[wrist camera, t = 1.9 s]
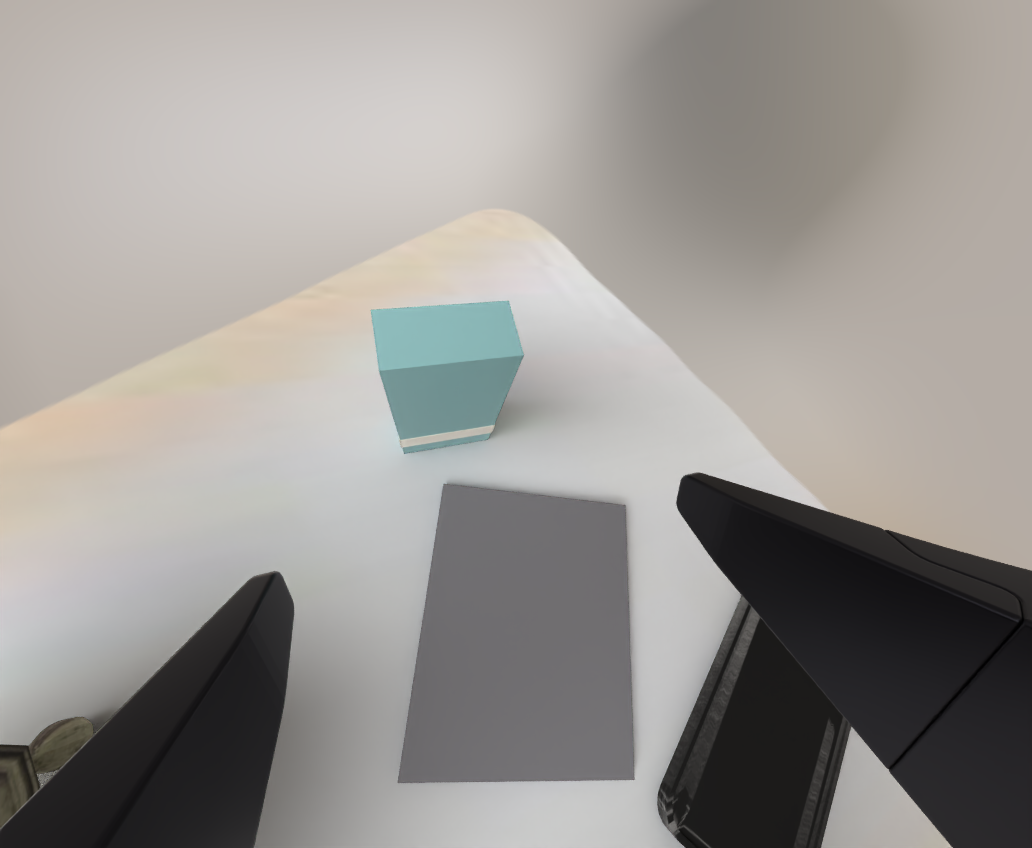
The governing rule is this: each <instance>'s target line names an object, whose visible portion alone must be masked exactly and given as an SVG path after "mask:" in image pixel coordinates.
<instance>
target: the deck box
mask: <svg viewBox="0 0 1032 848" xmlns="http://www.w3.org/2000/svg"><path fill="white" fill-rule="evenodd" d="M371 315H372V323H373V330H374V337H375V344H376V352H377V359H378V366H379V372H380V375H381V379H382V382H383V385H384V389H385V392H386V395H387V399H388V402H389V405H390V408H391V412H392V415H393V418H394V422H395V425H396V428H397V432H398V436H399V442H400V445H401V448H403V451H404V454H406V453H412V452H418V451H423V450H429V449H435V448H441V447H447V446H453V445H459V444H464V443H470V442H476V441H482V440H488V438H489V436H490V433H492V432H493V430H494V427H495V422H496V419H497V417H498V415H499V412H500V410H501V408H502V405H503V403H504V401H505V398H506V396H507V393H508V391H509V389H510V386H511V384H512V382H513V379H514V377H515V375H516V372H517V370H518V368H519V365H520V363H521V360H522V358H523V356H524V354H523V350H522V347H521V343H520V340H519V336H518V332H517V329H516V325H515V322H514V318H513V314H512V311H511V307H510V304H509V301H498V302H483V303H468V304H452V305H437V306H422V307H407V308H392V309H377V310H371Z"/></svg>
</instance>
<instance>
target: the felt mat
mask: <svg viewBox="0 0 1032 848" xmlns="http://www.w3.org/2000/svg"><path fill="white" fill-rule="evenodd" d="M582 780H634V753H633V723H632V693H631V662H630V632H629V602H628V572H627V542H626V512H625V505H618V504H610V503H601V502H593V501H585V500H576V499H568V498H559V497H551V496H542V495H534V494H525V493H517V492H508V491H500V490H491V489H483V488H475V487H466V486H458V485H449V484H443V491H442V497H441V504H440V510H439V517H438V523H437V530H436V536H435V543H434V549H433V556H432V563H431V569H430V576H429V582H428V589H427V595H426V602H425V608H424V615H423V621H422V628H421V634H420V641H419V647H418V654H417V660H416V667H415V673H414V680H413V686H412V693H411V699H410V706H409V712H408V719H407V725H406V732H405V738H404V745H403V751H402V758H401V764H400V771H399V777H398V783H425V782H504V781H582Z"/></svg>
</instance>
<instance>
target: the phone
mask: <svg viewBox="0 0 1032 848" xmlns="http://www.w3.org/2000/svg"><path fill="white" fill-rule="evenodd" d="M850 729H851V725H850V724H849V723H848V721H847V720H846V719H845V718H844V717H843V715H842V714H841V713H840V712H839V711H838V709H837V708H836V707H835V706H834V705H833V703H832V702H831V701H830V700H829V699H828V697H827V696H826V695H825V694H824V693H823V692H822V690H821V689H820V688H819V687H818V686H817V684H816V683H815V682H814V681H813V680H812V678H811V677H810V676H809V675H808V674H807V672H806V671H805V670H804V669H803V668H802V666H801V665H800V664H799V663H798V662H797V660H796V659H795V658H794V657H793V656H792V654H791V653H790V652H789V651H788V650H787V649H786V647H785V646H784V645H783V644H782V643H781V641H780V640H779V639H778V638H777V637H776V635H775V634H774V633H773V632H772V631H771V629H770V628H769V627H768V626H767V625H766V623H765V622H764V621H763V620H762V619H761V617H760V616H759V615H758V614H757V613H756V611H755V610H754V609H753V608H752V607H751V605H750V604H749V603H748V602H747V601H746V600H745V598H744V597H743V596H742V597H741V599H740V601H739V604H738V606H737V608H736V610H735V613H734V615H733V617H732V620H731V622H730V624H729V627H728V629H727V631H726V634H725V636H724V638H723V641H722V643H721V645H720V648H719V650H718V652H717V655H716V657H715V659H714V662H713V664H712V666H711V669H710V671H709V673H708V676H707V678H706V680H705V683H704V685H703V687H702V690H701V692H700V694H699V697H698V699H697V701H696V704H695V706H694V708H693V711H692V713H691V715H690V718H689V720H688V722H687V725H686V727H685V729H684V732H683V734H682V736H681V739H680V741H679V743H678V746H677V748H676V750H675V753H674V755H673V757H672V760H671V762H670V764H669V767H668V769H667V771H666V774H665V776H664V778H663V781H662V783H661V785H660V788H659V792H658V802H657V805H658V810H659V815H660V817H661V819H662V822H663V823H664V825H665V826H666V827H667V828H668V830H669V831H670V832H671V833H672V834H673V835H674V837H675V838H676V839H677V840H678V841H679V842H680V843H681V844H682V845H683V846H684V847H685V848H821V845H822V841H823V837H824V833H825V829H826V825H827V821H828V817H829V813H830V809H831V805H832V801H833V797H834V793H835V789H836V785H837V781H838V777H839V773H840V769H841V765H842V761H843V757H844V753H845V749H846V745H847V741H848V737H849V733H850Z"/></svg>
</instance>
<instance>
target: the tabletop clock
mask: <svg viewBox="0 0 1032 848" xmlns="http://www.w3.org/2000/svg"><path fill="white" fill-rule="evenodd" d="M93 733H94V731H93V724H92V723H91V722H90V721H89V720H87V719H86V718H84V717H74V718H69V719H65V720H61V721H58V722H56V723H54V724H52V725H50V726H48V727H47V728H46V729H44V730H43V731H42V732H40V734H39V735H38V736H37V737H36V738H35V739H34V741H33V742H32V743H31V744H30V745H29V747H28V746H24V745H0V828H1V827H2V826H3V825H4V824H5V823H6V822H7V821H8V820H9V819H10V818H11V817H12V816H13V815H14V814H15V813H16V812H17V811H18V810H19V809H20V808H21V807H22V806H23V805H24V804H25V803H26V802H27V801H28V800H29V799H30V798H31V797H32V796H33V795H34V794H35V793H36V792H37V791H38V790H39V789H40V785H39V781H38V777H37V774H40V773H47V772H52V771H55V770H58V769H60V768H61V767H62V766H63V765H64V764H65V763H66V762H67V761H68V760H69V759H70V758H71V757H72V756H73V755H74V754H75V753H76V752H77V751H78V750H79V749H80V748H81V747H82V746H83V745H84V744H85V743H86V742H87V741H88V740H89V739H90V738H91V737H92V736H93Z"/></svg>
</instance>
